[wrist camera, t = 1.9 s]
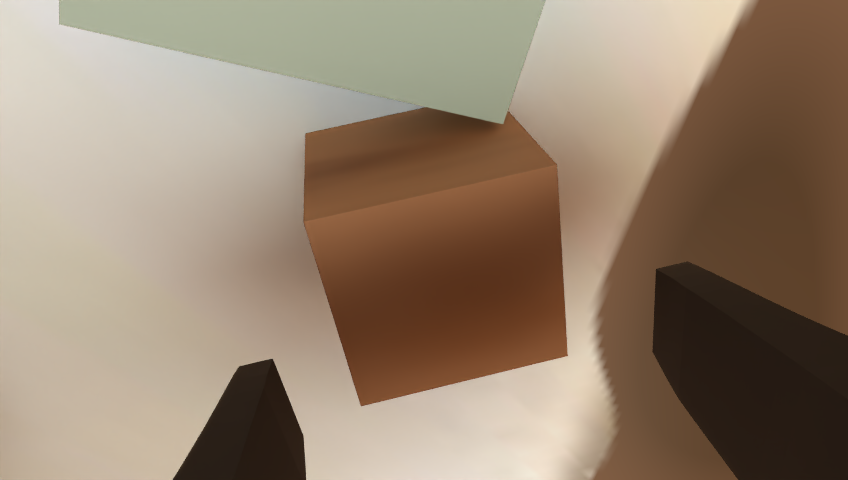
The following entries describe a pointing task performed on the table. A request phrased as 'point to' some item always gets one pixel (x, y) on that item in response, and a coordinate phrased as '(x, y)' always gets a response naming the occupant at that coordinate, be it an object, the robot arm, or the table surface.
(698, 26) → the table surface
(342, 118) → the table surface
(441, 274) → the walnut cube
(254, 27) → the sage green box
